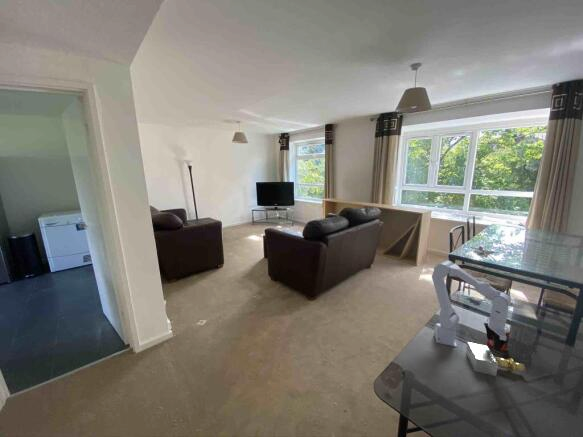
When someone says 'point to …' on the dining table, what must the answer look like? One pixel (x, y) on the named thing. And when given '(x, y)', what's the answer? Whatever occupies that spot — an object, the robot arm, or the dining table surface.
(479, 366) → the housing
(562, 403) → the dining table surface
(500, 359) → the brass flanged cylinder
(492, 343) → the canned food
